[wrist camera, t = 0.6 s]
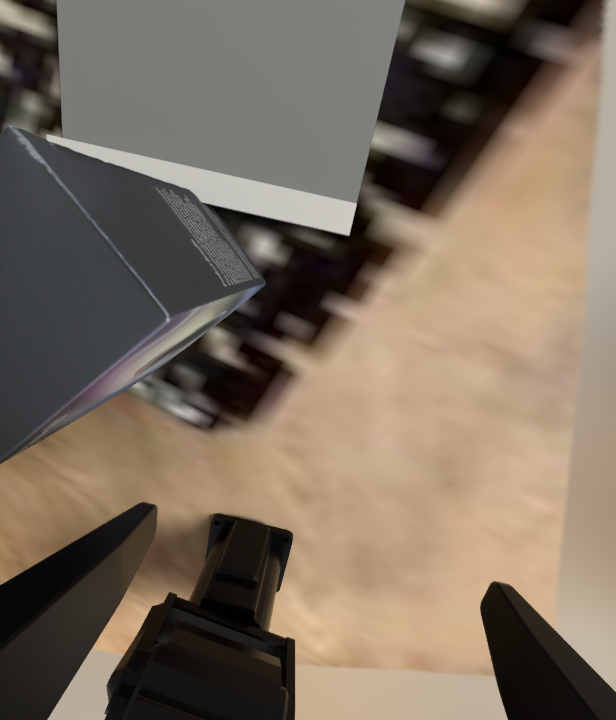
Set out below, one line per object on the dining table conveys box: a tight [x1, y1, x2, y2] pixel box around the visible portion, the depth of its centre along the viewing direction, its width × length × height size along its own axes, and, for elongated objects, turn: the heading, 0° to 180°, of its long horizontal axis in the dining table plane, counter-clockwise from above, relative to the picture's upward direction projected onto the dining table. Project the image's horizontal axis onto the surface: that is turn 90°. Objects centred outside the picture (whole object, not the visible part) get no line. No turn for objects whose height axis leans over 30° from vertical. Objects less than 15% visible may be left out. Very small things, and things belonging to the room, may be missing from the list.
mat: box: [47, 0, 405, 237], centre depth 15 cm, size 11×16×2 cm
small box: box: [0, 126, 266, 464], centre depth 15 cm, size 11×6×10 cm, turn 126°
